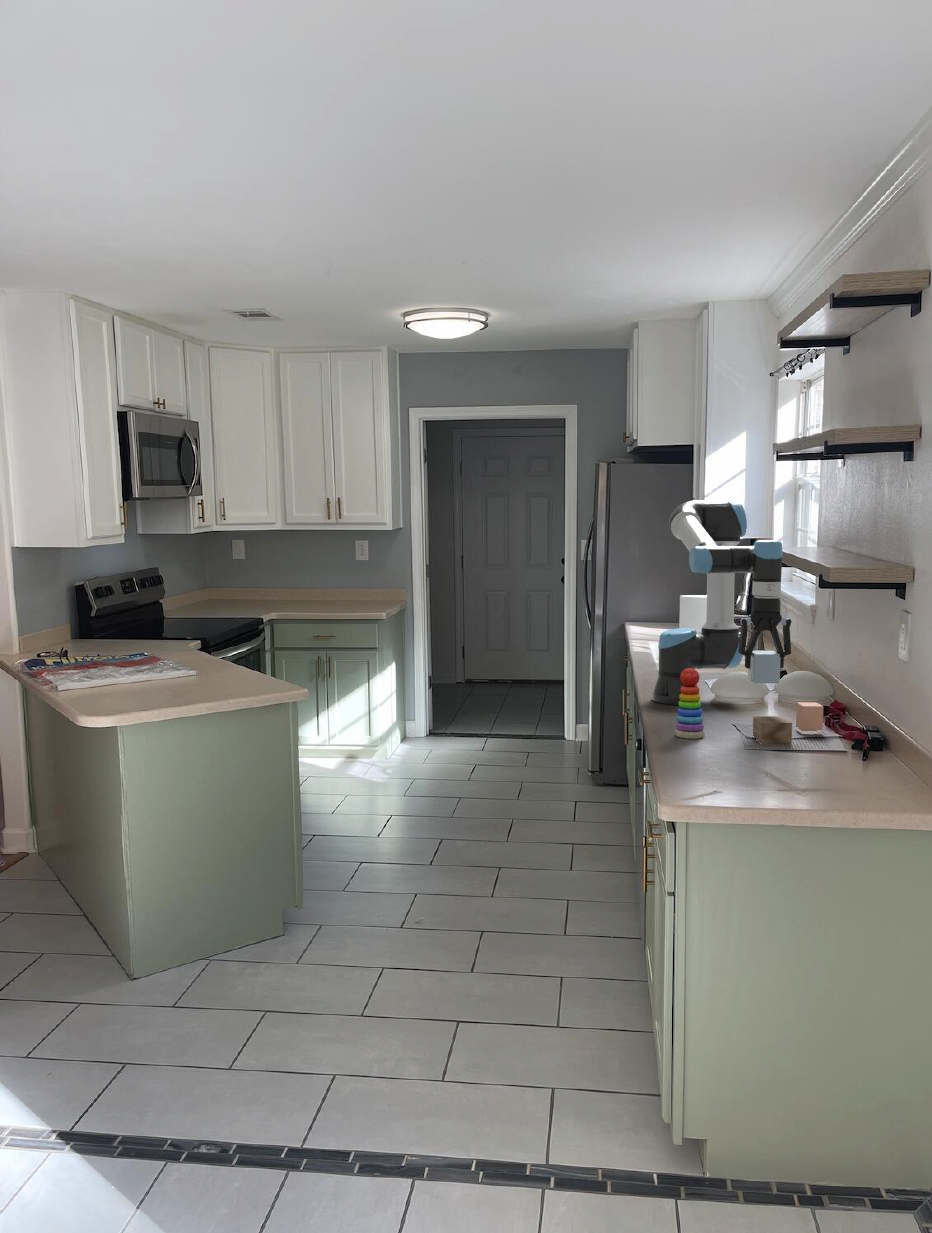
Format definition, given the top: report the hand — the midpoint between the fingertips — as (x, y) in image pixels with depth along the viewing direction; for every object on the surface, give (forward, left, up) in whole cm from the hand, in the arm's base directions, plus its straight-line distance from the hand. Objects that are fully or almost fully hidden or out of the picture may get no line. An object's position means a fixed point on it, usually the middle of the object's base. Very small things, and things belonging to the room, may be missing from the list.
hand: (763, 679), depth 267 cm
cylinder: (+9, +120, -15) cm, 121 cm away
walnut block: (0, -10, -15) cm, 18 cm away
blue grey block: (0, 0, 0) cm, 0 cm away
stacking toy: (-21, -5, -15) cm, 26 cm away
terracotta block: (+13, 0, -15) cm, 20 cm away
